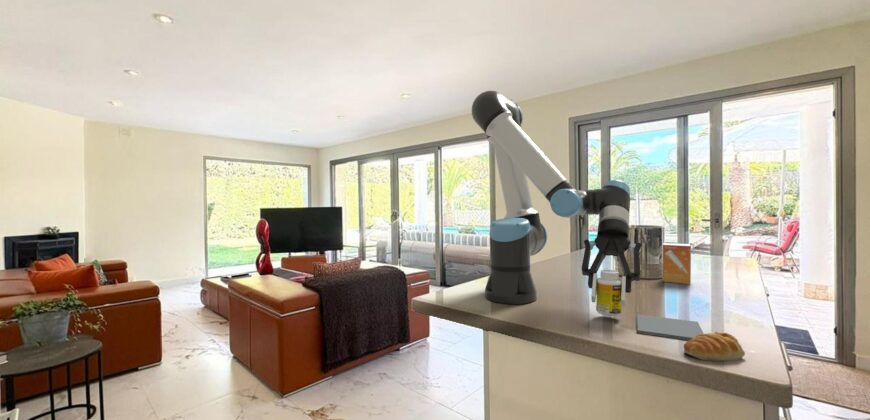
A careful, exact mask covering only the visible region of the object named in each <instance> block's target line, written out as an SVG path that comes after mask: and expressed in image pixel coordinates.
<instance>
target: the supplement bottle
mask: <svg viewBox="0 0 870 420" xmlns="http://www.w3.org/2000/svg"><path fill="white" fill-rule="evenodd" d="M619 278H620V273H619V271H617V270H614V269H613V270H611V269H603V270H600V277H597V291H596V302H595V307H596V308H595V309H596V312H597V314H600V315H604V316H607V317H608V316H609V317H617V316H620V315H621V314H622V307H623V306H621V293H622V279H619Z"/></svg>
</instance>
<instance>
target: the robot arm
mask: <svg viewBox="0 0 870 420" xmlns="http://www.w3.org/2000/svg"><path fill="white" fill-rule="evenodd" d="M471 116H472V119H473V121H474V122H475V123H476V125H478V127H479V128H480V129H481V130H482V131H483V132H484V133H485V134H486V139H487V142H489V143H490V144H491V145H493V150H494V154H495V159H496V165H497V169H498V175H499V179H500V185H501V190H502V195H503V200H504V205H505V209H506V215H504V217H503V218H499V219H495V220H493V221H492V222H491V224H490V226H489V233H488V234H489V245H490V246H489V253H490V254H489V257H490V272H489V276H488V278H487V281H486V284H485V288H484V297H485V299H486V300H489V301H491V302H494V303H499V304H509V305H520V304H521V305H522V304H523V305H524V304H529V303H533V302H535V301H537V296H538V295H537V292H538V291H537V288H536V284H535V282H534V280H533V279H534V278H533V276H532V274H531V273H532V272H531V256H534V255H537V254H538V253H540V252H541V251H542V250H543V249H544V248H545V246H546V244H547V242H548V232H547V229H546V227H545V226H544V224H543V223H542V221H541V219H540V214H539V211H537V210H535V209H534V207H533V203H532V202H533V201H532V199H531V198H532V196H531V192H530V187H529V183H528V179H529V180H530V182H531V183H532V184H533V185H534V186H535V187H536V188H537V190H539V191H540V193H541V194H542V195H543V197H544V198H545V199H546V200H547V201H548V202H549V203H550V204H549V205H550V208H551V210H552V212H553V213H554V214H555V215H556V216H559V217H561V218H567V219H569V218H573V217H578V216H588V215H589V216H590V215H591V216H592V215H597V216H598V223H597V224H598V226H597V233H596V234H597V235H596V237H595V239H594V240H590V241H589V239H585V240H584V241H583V244H584V253H583V257H582V263H581V272H582V273H581V274H582V276H587V279H588V280H587V287H588V289H591V295H590V298H591V303H596V296H597V295H596V294H597V279H598V271H599V269H600V268H601V265H602V263H603V262H604V260H605V259H606V257H607V256H614V257H617V259H618V262H619V264H620V268H621V272H622V273H623V275H621V277H622V278H621V281H622V293H621V306H622V307H626V293H627V294H631V292H632V282H633V281H634V282H635V281H636V282H639V281H640V280H641V264H640V263H641V261H640V259H641V258H640V255H641V252H642V247H643V246H642V243H641V242H636V243H633V242H631V240H630V239H629V237H630V236H629V235H630V228H629V227H630V210H631V209H630V208H631V207H630V206H631V190H630V186H629V185H628V184H627V183H626V182H625V181H623V180H620V179H611V180H608V181H607V182H604V184H603V185H602V186H601V188H596V189H595V188H594V189H580V190H577V189H576V188H575V186H573V185H572V184H571V183H570V181H569V180H568V179H567V178H566V177H565V176H564V175H563V174H562V173H561V171H560V170H559V169H558V168H557V166H555V165H554V163H553V162H551V160H550V159H549V157H547V156H546V155H545V154H544V152H543V151H542V150H541V149H540V148H539V147H538V146H537V145H536V143H534V141H533V140H532V139H531V138H530V137H529V136H528V135H527V133H525V131H524V130H523V129H522V124H523V120H524V117H523V112H522V109H521V108H520V106H519V104H517V102H515V101H514V100H513V99H510V98H508V97H506V96H505V95H503V94H502V93H500V92H498V91H496V90H486V91H483V92H481V93H480V94H478V95H477V96H476V97H475V98H474V101H473V102H472V105H471ZM594 246H595V247H596V248H597V249H598V252H597V254H596V256H595V258H594V260H593V262H592V263H591V266H590V260H591V255H592V254H591V253H592V250H593V249H594V248H595V247H594ZM629 249H630V251H631V253H632V254H633V272H632V271H631V269H630V267H629V264H628V261H627V259H626V255H625V252H626V251H627V250H629ZM589 267H590V268H589Z"/></svg>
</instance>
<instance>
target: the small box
mask: <svg viewBox="0 0 870 420" xmlns="http://www.w3.org/2000/svg"><path fill="white" fill-rule="evenodd" d="M691 258H692V246H691V244H690V243H677V242H676V243H675V242H674V243H671V242H670V243H668V242H667V243H666V242H663V243H662V282H665V283H675V284H685V285H691V283H692V281H691V278H692V277H691V276H692V271H691V270H692V269H691V268H692V262H691V261H692V259H691Z"/></svg>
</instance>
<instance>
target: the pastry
mask: <svg viewBox="0 0 870 420" xmlns="http://www.w3.org/2000/svg"><path fill="white" fill-rule="evenodd" d="M683 352H684V354H687V355H690V356H692V357H694V358H697V359H700V360H701V361H702V360H703V361H715V362H716V361H717V362H724V361H725V362H726V361H735V360H740V359H743V357H744V356H745V354H746V353H745V351H744V350H743V347H742V345H741V344H740V343H739V341H738V339H737V338H736V336H734V335H732V334H730V333H728V332H719V331H715V332H714V333H711V332H710V333H704V334H699V335H697V336H696V337H695V338H693V339H690V340H686V342H685V343H684V344H683Z"/></svg>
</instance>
